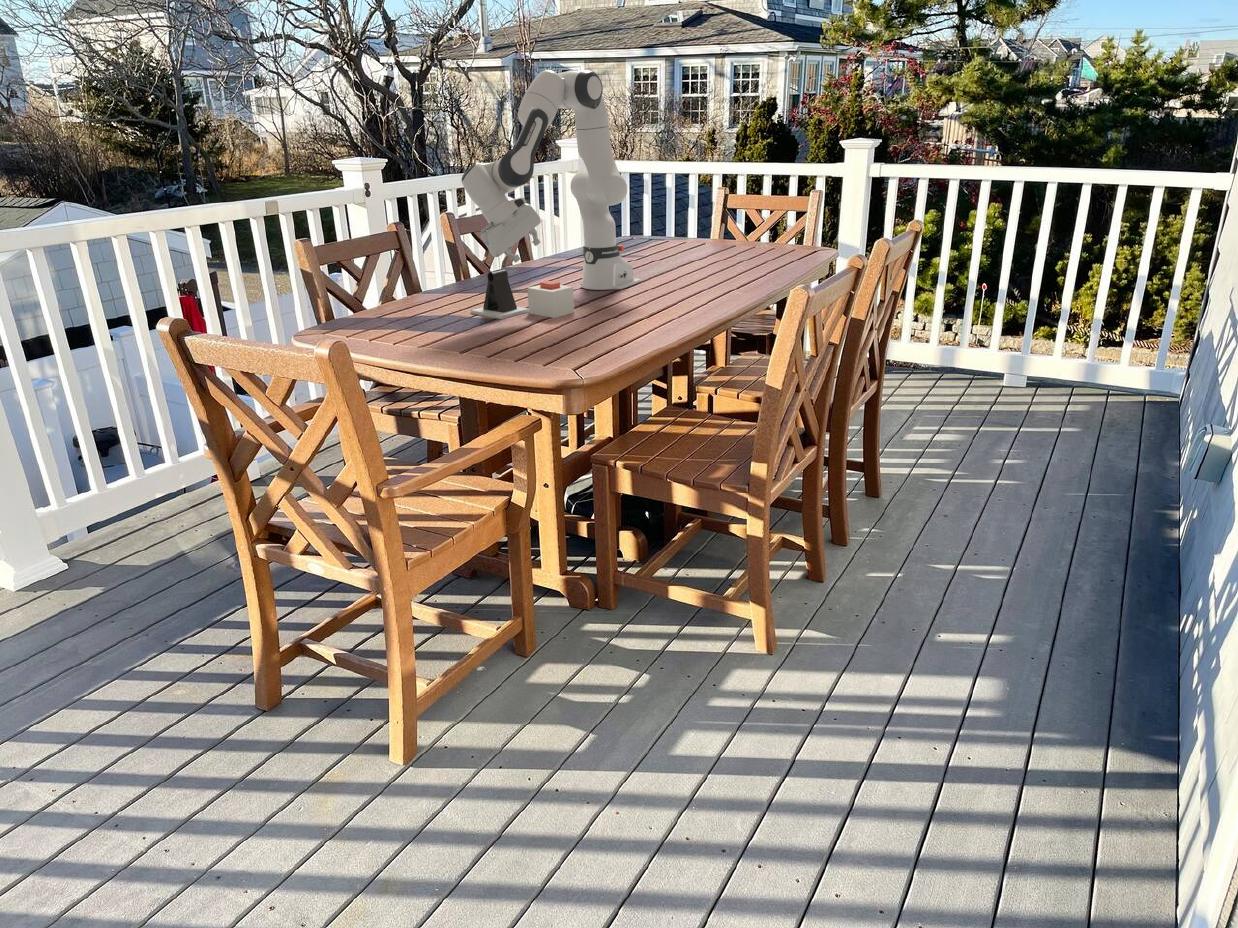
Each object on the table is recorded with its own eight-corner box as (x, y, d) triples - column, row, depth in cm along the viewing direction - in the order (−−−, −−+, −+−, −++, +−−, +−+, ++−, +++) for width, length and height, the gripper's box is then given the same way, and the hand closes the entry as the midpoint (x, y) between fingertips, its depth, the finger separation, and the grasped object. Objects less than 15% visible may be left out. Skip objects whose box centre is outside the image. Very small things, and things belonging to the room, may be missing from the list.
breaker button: (548, 290, 281) (548, 280, 280) (560, 292, 278) (559, 282, 277) (540, 292, 278) (540, 282, 277) (552, 294, 275) (551, 284, 274)
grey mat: (499, 306, 291) (499, 303, 291) (529, 311, 283) (528, 308, 282) (470, 313, 283) (470, 310, 283) (500, 319, 275) (500, 315, 274)
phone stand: (483, 309, 283) (480, 271, 279) (496, 305, 287) (493, 268, 283) (503, 312, 278) (500, 274, 273) (517, 309, 282) (514, 270, 278)
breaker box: (549, 308, 287) (548, 283, 284) (574, 312, 280) (573, 287, 277) (529, 313, 281) (527, 287, 278) (553, 318, 274) (552, 292, 271)
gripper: (482, 229, 265) (510, 268, 270) (527, 194, 275) (554, 232, 279) (473, 235, 270) (501, 273, 275) (517, 201, 280) (544, 238, 284)
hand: (528, 252), depth 277 cm, fingers open, 8 cm apart
